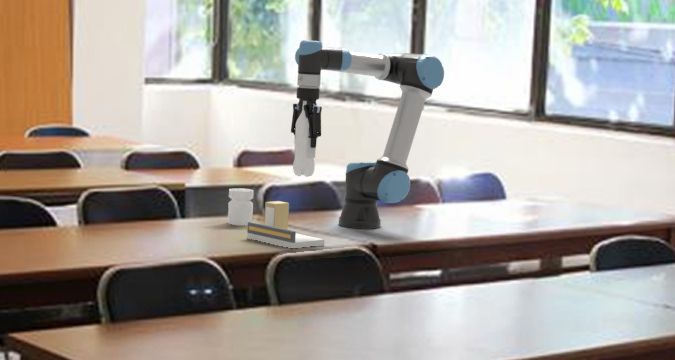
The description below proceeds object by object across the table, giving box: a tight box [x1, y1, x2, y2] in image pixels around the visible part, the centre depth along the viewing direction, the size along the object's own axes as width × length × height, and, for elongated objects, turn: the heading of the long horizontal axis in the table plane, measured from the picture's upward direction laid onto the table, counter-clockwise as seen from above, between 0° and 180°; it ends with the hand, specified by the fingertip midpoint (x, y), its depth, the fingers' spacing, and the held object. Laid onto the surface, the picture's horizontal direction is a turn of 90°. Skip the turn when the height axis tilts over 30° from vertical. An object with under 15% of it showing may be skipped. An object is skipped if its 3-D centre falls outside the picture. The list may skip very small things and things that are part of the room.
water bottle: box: [292, 101, 316, 178], centre depth 428 cm, size 7×7×25 cm
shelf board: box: [246, 221, 325, 249], centre depth 420 cm, size 14×22×6 cm, turn 45°
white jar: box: [227, 187, 255, 227], centre depth 454 cm, size 9×9×12 cm
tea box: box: [263, 200, 290, 230], centre depth 426 cm, size 6×5×10 cm
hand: (304, 156), depth 429 cm, fingers closed on water bottle, 7 cm apart
